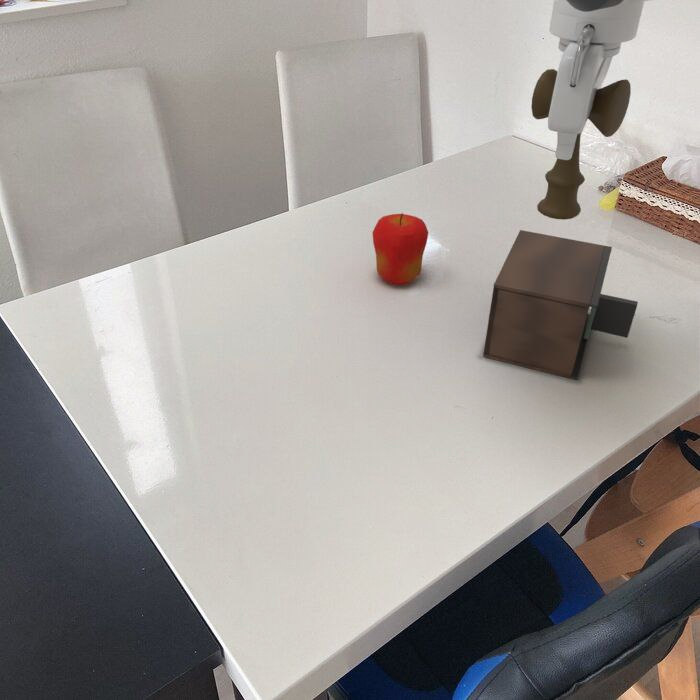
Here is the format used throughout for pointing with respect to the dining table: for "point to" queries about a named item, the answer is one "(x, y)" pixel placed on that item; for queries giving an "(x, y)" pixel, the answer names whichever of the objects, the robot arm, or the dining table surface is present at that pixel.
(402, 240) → the apple
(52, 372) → the dining table surface
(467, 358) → the dining table surface
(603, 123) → the kendama
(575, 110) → the robot arm
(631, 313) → the door
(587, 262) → the cabinet
